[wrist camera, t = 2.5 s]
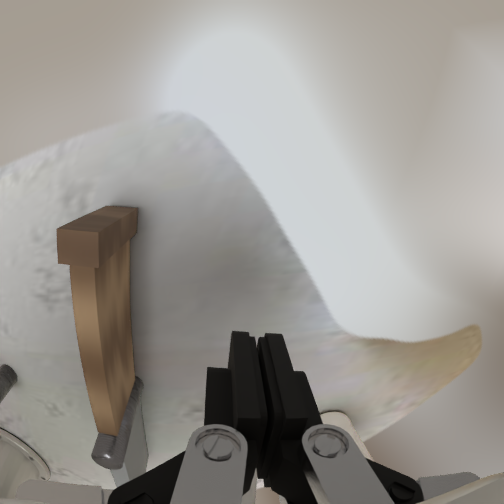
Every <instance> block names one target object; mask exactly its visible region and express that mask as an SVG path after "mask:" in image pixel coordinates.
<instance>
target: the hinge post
mask: <svg viewBox="0 0 504 504" xmlns="http://www.w3.org/2000/svg"><path fill="white" fill-rule="evenodd" d="M142 390H143V383H142V381H141V380H140V379H139V378H138V377H137V376H135V382H134V385H133V388H132V391H131V394H130V397H129V400H128V403H127V406H126V410H125V413H124V416H123V419H122V423H121V426H120V429H119V433H118V436H114V435H109V434H104V433H99V434H98V437H97V440H96V443H95V445H94V448H93V451H92V455H91V456H92V459H93V460H94V461H95V462H96V463H97V464H99V465H100V466H102V467H105V468H107V469H112V470H118V469H121V468H122V467H123V463H124V459H125V454H126V450H127V446H128V442H129V438H130V434H131V431H132V427H133V423H134V419H135V415H136V412H137V408H138V404H139V401H140V397H141V393H142Z"/></svg>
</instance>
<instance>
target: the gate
mask: <svg viewBox="0 0 504 504" xmlns="http://www.w3.org/2000/svg"><path fill="white" fill-rule="evenodd" d="M137 215H138V208H131V207H117V206H105V207H103V208H101V209H98V210H96V211H94V212H92V213H89V214H87V215H85V216H83V217H81V218H78V219H76V220H74V221H72V222H70V223H68V224H66V225H63V226H61V227H59V228H57V252H58V263H59V264H67V265H70V278H71V290H72V300H73V309H74V317H75V325H76V332H77V339H78V345H79V351H80V357H81V362H82V367H83V372H84V377H85V382H86V386H87V391H88V395H89V399H90V403H91V407H92V411H93V415H94V419H95V423H96V426H97V430H98V432H99V433H104V434H109V435H114V436H118V433H119V429H120V426H121V423H122V419H123V416H124V413H125V410H126V406H127V403H128V400H129V397H130V394H131V391H132V388H133V385H134V382H135V371H134V360H133V347H132V332H131V312H130V239H131V238H132V237H133V236H134V235H135V234H136V233H137Z"/></svg>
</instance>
